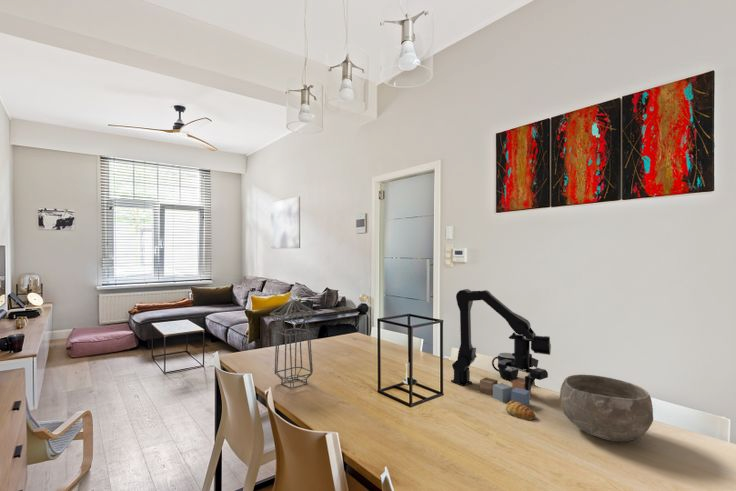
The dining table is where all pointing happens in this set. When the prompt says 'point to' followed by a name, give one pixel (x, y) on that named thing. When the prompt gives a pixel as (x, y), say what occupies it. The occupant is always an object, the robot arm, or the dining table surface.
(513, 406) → the pastry
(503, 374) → the mug
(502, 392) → the slate cube
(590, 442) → the dining table surface
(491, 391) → the walnut cube
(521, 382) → the terracotta cube
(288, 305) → the geometric lantern
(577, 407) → the bowl
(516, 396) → the blue cube
